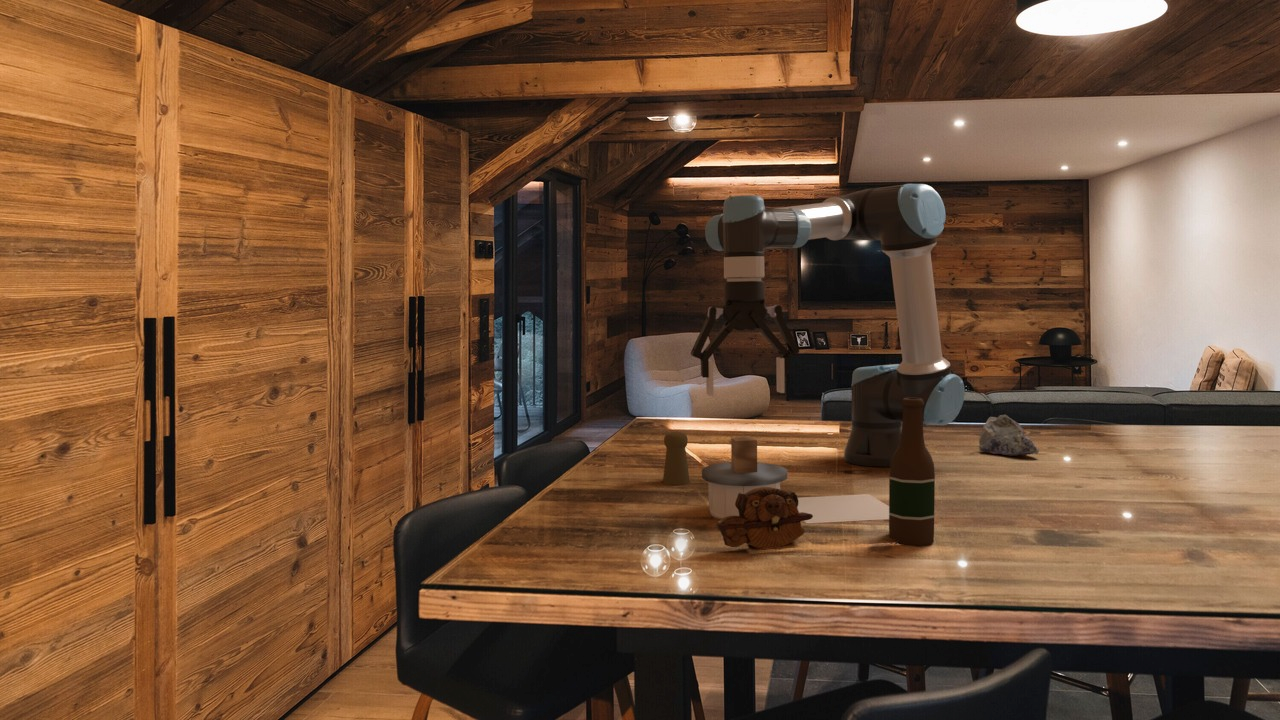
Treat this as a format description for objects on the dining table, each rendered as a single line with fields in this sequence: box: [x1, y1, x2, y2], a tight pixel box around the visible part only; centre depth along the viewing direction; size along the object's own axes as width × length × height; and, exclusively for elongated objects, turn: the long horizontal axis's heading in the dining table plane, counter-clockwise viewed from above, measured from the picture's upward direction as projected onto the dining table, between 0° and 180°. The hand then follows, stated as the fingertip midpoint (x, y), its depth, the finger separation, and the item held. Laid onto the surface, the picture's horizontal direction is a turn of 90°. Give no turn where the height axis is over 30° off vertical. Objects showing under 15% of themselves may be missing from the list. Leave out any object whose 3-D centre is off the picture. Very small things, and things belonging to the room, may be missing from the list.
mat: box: [797, 493, 889, 525], centre depth 175 cm, size 19×19×1 cm
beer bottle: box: [888, 397, 936, 547], centre depth 154 cm, size 8×8×24 cm
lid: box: [701, 436, 788, 486], centre depth 173 cm, size 16×16×7 cm
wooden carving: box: [716, 487, 813, 549], centre depth 151 cm, size 16×5×10 cm, turn 110°
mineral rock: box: [978, 414, 1040, 457], centre depth 225 cm, size 13×11×10 cm
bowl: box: [707, 481, 781, 520], centre depth 174 cm, size 13×13×7 cm
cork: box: [662, 431, 691, 486], centre depth 201 cm, size 6×6×11 cm
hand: (745, 393), depth 173 cm, fingers open, 13 cm apart
